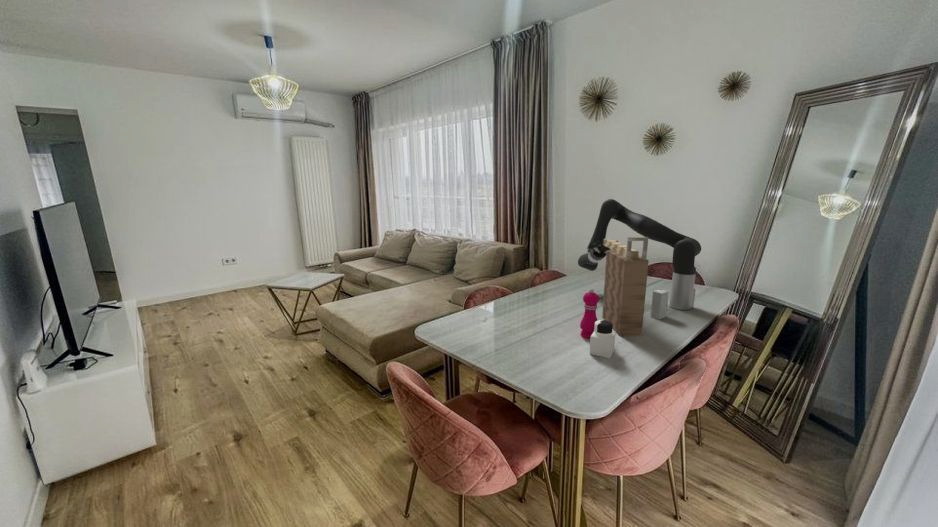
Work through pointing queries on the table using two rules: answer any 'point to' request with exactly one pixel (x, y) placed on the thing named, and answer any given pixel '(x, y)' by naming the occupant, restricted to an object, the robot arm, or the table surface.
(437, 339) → the table surface
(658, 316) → the skincare box
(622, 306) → the brown tall blocky piece
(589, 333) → the pepper mill
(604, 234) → the robot arm
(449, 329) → the table surface
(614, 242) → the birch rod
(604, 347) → the medicine bottle
